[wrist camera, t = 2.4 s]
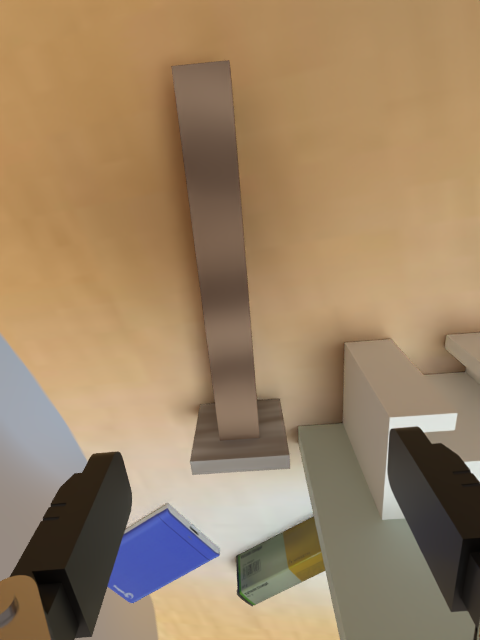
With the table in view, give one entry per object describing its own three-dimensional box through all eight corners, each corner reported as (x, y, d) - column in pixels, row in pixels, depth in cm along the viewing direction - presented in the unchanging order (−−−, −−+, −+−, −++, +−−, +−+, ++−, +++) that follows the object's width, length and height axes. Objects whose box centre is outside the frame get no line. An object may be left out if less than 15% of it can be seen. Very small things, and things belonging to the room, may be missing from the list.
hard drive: (132, 605, 42) (219, 558, 39) (77, 566, 39) (166, 512, 36) (136, 590, 43) (220, 543, 40) (83, 551, 41) (169, 498, 38)
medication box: (249, 568, 41) (250, 609, 37) (234, 555, 40) (234, 595, 37) (344, 520, 38) (355, 558, 35) (330, 505, 38) (340, 542, 34)
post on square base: (153, 89, 24) (122, 59, 18) (262, 78, 24) (271, 44, 17) (201, 415, 33) (192, 474, 27) (280, 410, 33) (290, 468, 27)
